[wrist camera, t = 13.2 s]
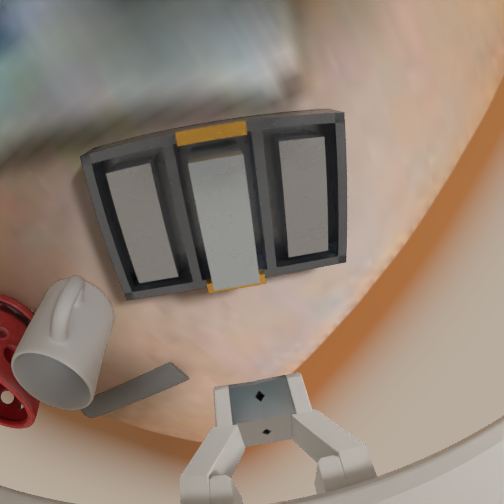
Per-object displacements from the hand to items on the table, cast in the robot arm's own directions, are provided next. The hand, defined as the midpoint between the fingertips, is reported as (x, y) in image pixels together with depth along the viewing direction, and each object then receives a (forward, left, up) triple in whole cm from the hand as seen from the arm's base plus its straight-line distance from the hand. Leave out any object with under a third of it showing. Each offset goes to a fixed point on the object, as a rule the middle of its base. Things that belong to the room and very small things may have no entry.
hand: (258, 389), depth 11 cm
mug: (+17, +8, -21) cm, 28 cm away
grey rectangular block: (0, 0, -20) cm, 20 cm away
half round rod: (+18, +25, -21) cm, 37 cm away
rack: (0, 0, -21) cm, 21 cm away
